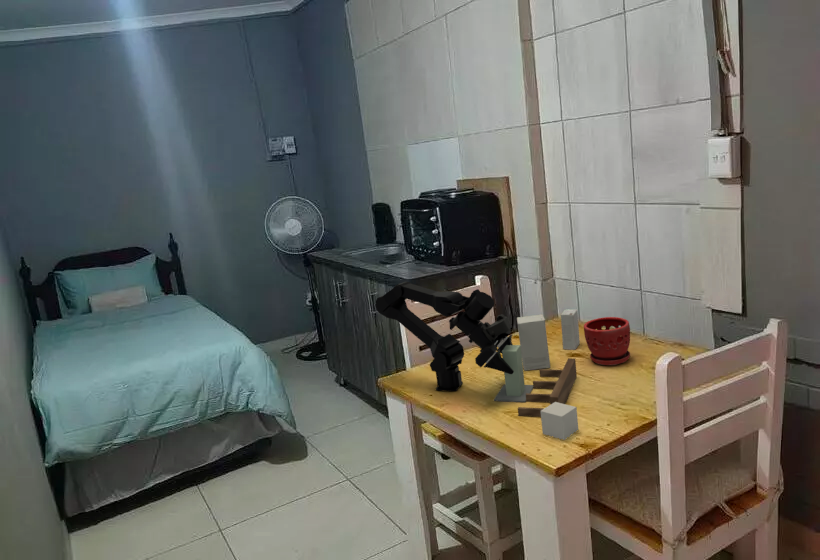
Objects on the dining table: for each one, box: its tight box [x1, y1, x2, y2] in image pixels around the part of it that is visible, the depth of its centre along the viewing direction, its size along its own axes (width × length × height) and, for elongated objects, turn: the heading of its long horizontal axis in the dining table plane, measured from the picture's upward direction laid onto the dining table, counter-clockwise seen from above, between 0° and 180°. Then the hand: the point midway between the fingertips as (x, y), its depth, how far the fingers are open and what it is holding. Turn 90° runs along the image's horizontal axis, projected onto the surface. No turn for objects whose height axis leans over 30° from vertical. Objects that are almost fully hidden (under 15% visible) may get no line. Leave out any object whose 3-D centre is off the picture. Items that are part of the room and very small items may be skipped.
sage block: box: [501, 344, 526, 396], centre depth 171 cm, size 4×5×13 cm
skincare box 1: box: [516, 314, 551, 372], centre depth 189 cm, size 8×7×16 cm
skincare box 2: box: [560, 308, 581, 351], centre depth 202 cm, size 6×4×12 cm
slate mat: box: [493, 383, 534, 403], centre depth 173 cm, size 9×11×1 cm
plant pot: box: [583, 316, 631, 366], centre depth 186 cm, size 13×13×12 cm
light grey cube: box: [540, 402, 579, 441], centre depth 147 cm, size 6×6×6 cm
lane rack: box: [517, 357, 578, 418], centre depth 168 cm, size 10×27×6 cm, turn 156°
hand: (516, 366), depth 170 cm, fingers open, 9 cm apart
